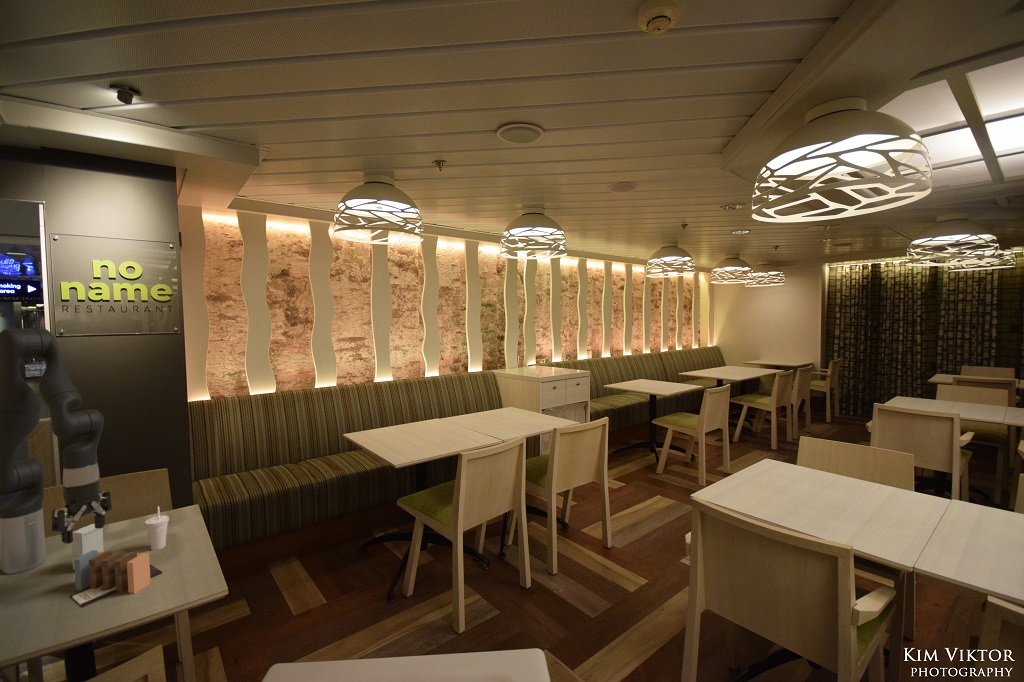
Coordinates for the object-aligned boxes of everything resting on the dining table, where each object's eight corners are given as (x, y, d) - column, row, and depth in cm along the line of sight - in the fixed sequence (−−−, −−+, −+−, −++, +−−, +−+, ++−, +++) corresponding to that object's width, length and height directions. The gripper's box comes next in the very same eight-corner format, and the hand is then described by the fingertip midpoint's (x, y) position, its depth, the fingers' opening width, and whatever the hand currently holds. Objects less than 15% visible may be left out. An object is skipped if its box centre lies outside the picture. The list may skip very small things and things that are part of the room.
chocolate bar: (162, 571, 135) (82, 605, 119) (162, 574, 135) (82, 608, 119) (148, 563, 139) (70, 594, 124) (148, 566, 139) (70, 598, 124)
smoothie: (173, 545, 151) (171, 505, 150) (150, 554, 145) (148, 512, 145) (165, 540, 154) (163, 501, 153) (142, 548, 149) (140, 508, 148)
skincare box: (83, 571, 136) (81, 533, 135) (72, 570, 137) (70, 532, 136) (105, 561, 142) (103, 524, 141) (94, 559, 142) (92, 523, 142)
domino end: (128, 593, 125) (126, 562, 125) (144, 582, 130) (143, 552, 130) (134, 593, 125) (132, 562, 124) (150, 583, 130) (148, 553, 129)
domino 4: (116, 592, 126) (114, 561, 125) (132, 581, 131) (131, 552, 130) (121, 592, 126) (120, 561, 125) (138, 581, 131) (136, 552, 130)
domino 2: (90, 590, 126) (88, 560, 126) (108, 580, 131) (106, 550, 131) (96, 591, 126) (94, 560, 126) (113, 580, 131) (111, 551, 131)
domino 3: (103, 591, 126) (101, 560, 126) (120, 580, 131) (118, 551, 131) (109, 591, 126) (107, 561, 125) (126, 581, 131) (124, 551, 130)
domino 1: (76, 589, 127) (74, 559, 126) (94, 579, 132) (92, 550, 131) (81, 590, 127) (79, 559, 126) (99, 579, 132) (97, 550, 131)
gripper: (95, 470, 135) (97, 522, 136) (41, 489, 121) (44, 547, 122) (117, 472, 134) (120, 524, 135) (65, 491, 120) (69, 549, 121)
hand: (84, 535), depth 128 cm, fingers open, 8 cm apart
